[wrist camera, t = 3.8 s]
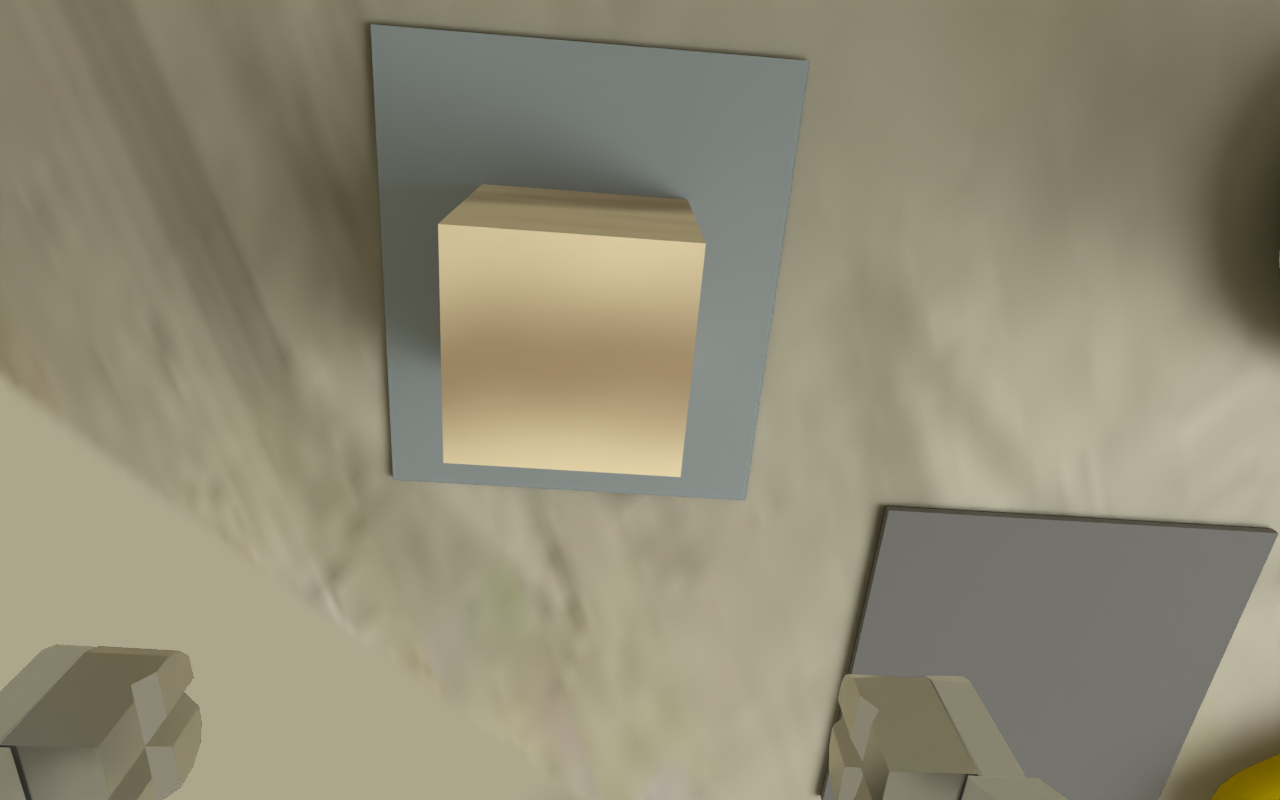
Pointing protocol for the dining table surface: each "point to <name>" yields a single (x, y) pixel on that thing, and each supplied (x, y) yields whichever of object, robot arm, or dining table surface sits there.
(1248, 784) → the element tile
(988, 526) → the pad
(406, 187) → the grey flat slab
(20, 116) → the dining table surface
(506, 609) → the dining table surface
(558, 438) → the light wood cube
